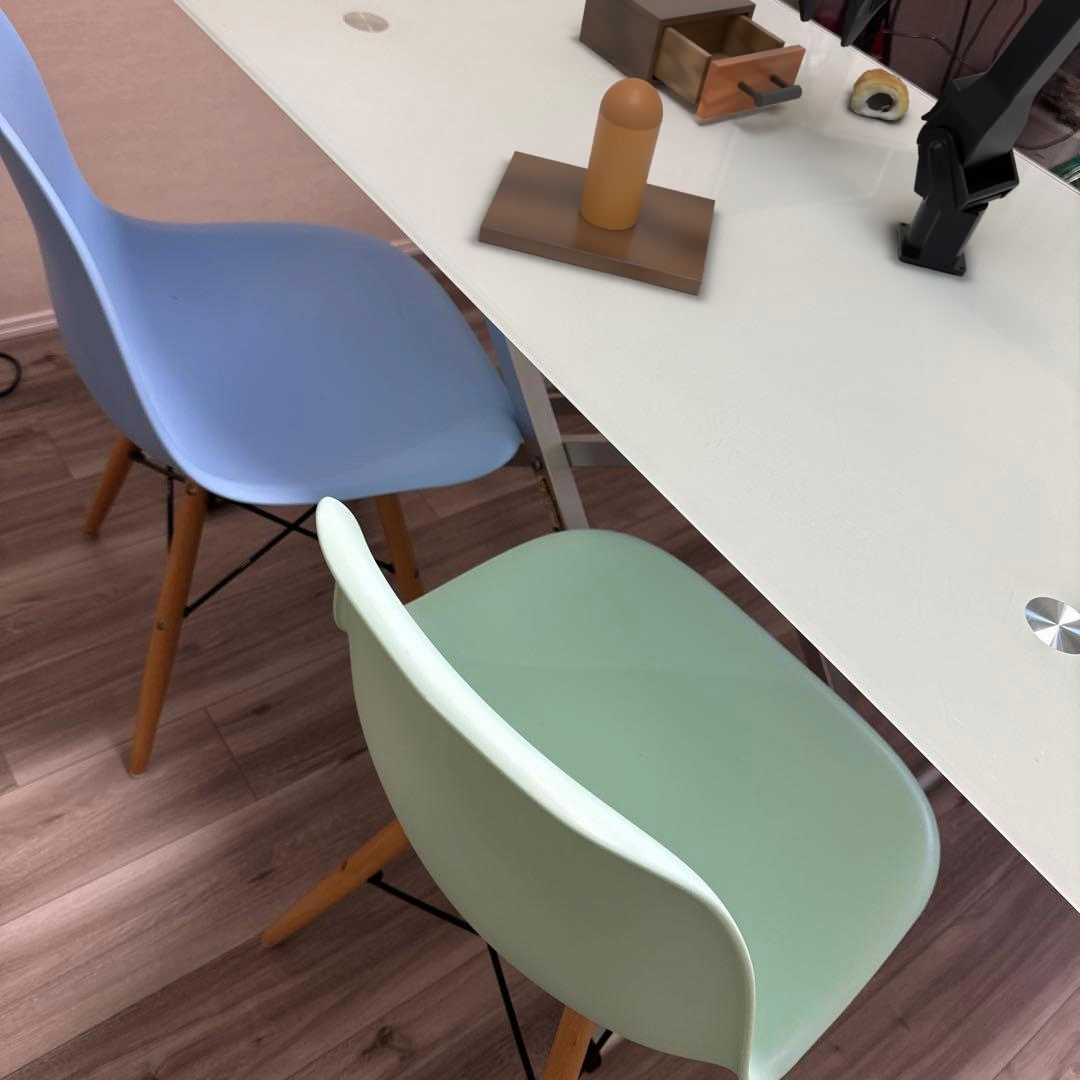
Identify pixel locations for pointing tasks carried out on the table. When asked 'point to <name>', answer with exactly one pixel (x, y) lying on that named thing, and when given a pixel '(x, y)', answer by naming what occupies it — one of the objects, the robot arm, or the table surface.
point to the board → (563, 234)
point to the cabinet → (645, 28)
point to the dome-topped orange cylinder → (621, 154)
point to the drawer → (728, 65)
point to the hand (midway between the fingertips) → (824, 33)
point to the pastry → (880, 95)
